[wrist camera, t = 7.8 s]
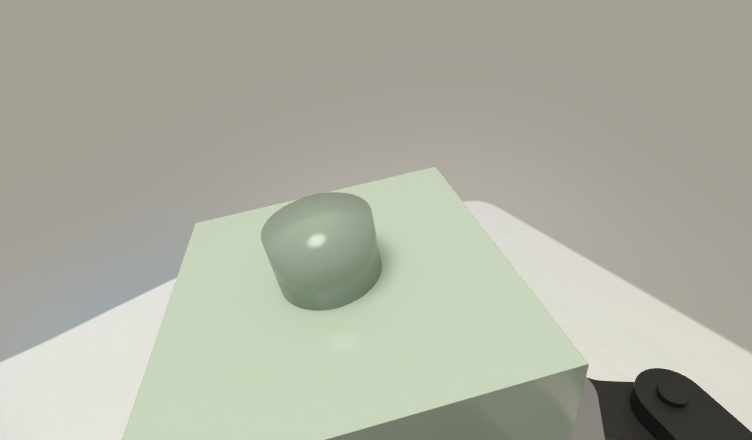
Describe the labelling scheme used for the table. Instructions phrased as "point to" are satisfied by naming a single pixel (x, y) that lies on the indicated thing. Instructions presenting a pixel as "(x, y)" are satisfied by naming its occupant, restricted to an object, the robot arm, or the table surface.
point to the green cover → (356, 328)
